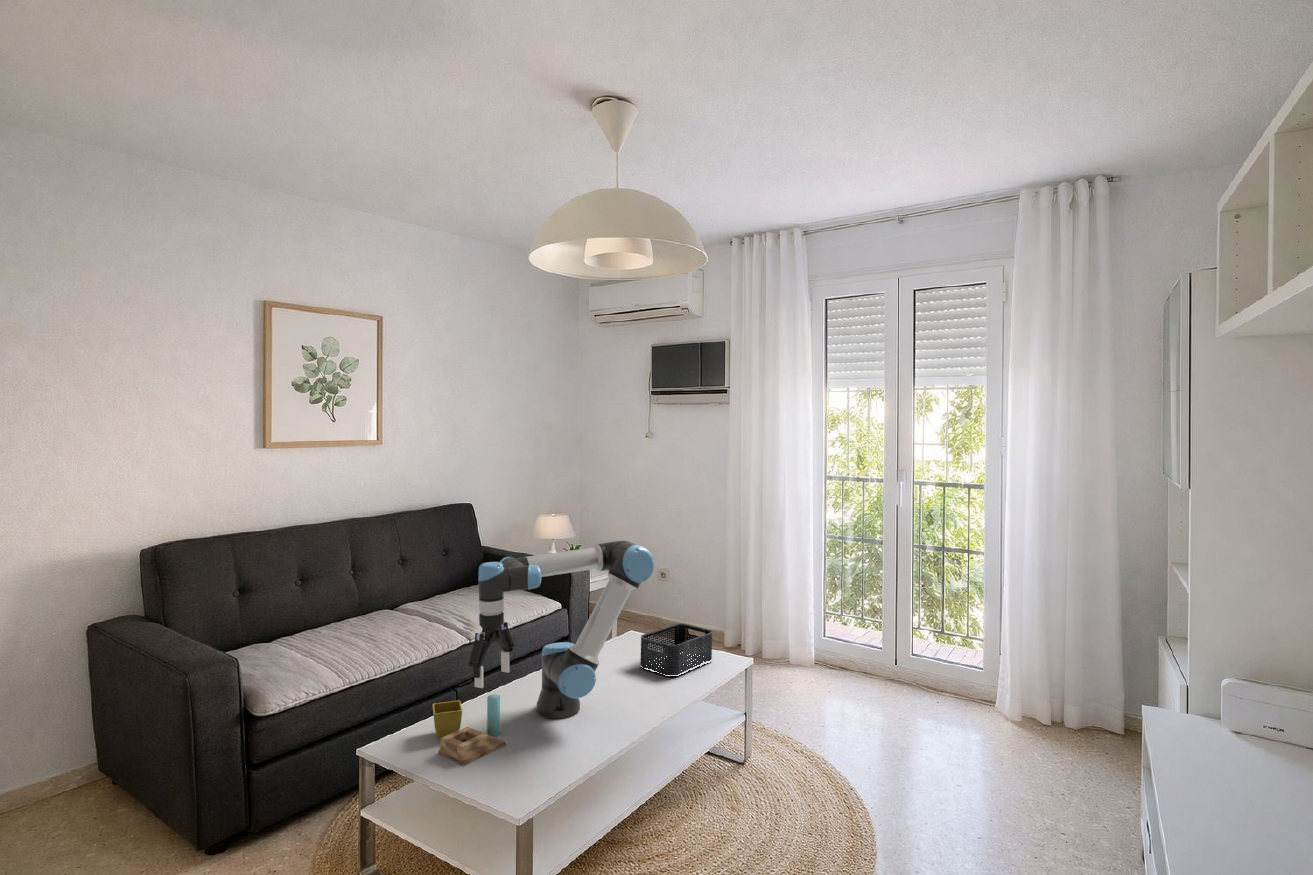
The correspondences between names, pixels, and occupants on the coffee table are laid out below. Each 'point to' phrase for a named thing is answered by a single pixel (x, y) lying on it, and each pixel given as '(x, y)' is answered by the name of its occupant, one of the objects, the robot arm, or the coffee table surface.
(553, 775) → the coffee table surface
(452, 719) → the flower pot
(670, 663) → the storage bin
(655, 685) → the coffee table surface
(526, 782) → the coffee table surface
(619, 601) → the robot arm
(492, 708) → the peg
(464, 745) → the socket board
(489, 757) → the coffee table surface
